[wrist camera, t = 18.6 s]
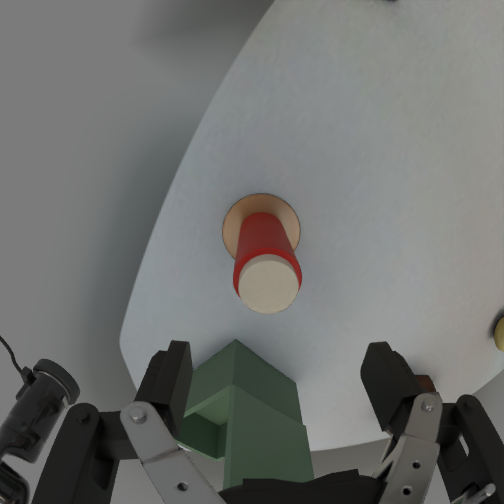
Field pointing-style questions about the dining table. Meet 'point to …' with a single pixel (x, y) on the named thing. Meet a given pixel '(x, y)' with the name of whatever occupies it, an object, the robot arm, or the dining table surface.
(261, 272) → the sauce bottle
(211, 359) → the chest
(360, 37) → the dining table surface
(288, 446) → the chest lid
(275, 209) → the disc
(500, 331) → the fruit
